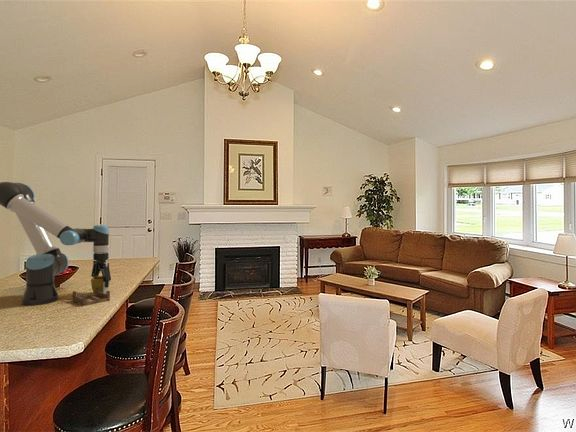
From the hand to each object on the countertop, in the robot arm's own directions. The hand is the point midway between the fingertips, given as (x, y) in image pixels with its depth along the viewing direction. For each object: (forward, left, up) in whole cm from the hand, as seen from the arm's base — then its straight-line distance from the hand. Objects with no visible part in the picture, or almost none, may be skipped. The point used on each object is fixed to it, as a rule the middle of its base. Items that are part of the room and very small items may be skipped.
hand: (100, 291), depth 194 cm
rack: (-10, -12, -1) cm, 16 cm away
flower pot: (0, 0, -1) cm, 1 cm away
